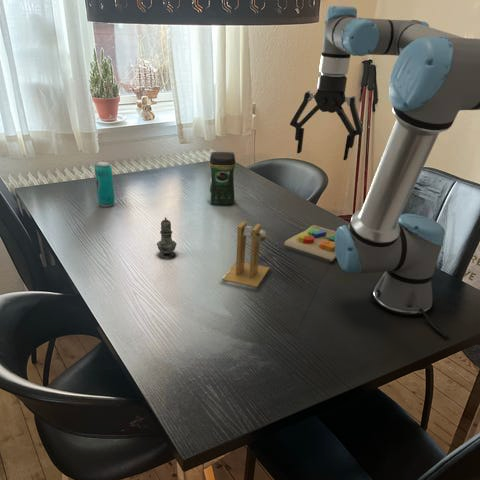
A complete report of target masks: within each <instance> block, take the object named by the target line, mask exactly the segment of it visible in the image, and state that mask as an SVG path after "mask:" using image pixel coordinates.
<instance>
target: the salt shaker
mask: <svg viewBox="0 0 480 480" xmlns="http://www.w3.org/2000/svg"><path fill="white" fill-rule="evenodd" d="M159 234H160V240H159V241H157V242H156V246H157V249H158V250H159V252H158V254H157V255H158V257H159V258H160V259H164V260H170V259H174V258H175V257H176V256H177V252H175V250H176V246H177V242H176V241H175V240H173V237H172V234H173V230H172V223H171V221H170V220H169V219H168V217H166V216H165V217H164V219H162V220H161V221H160V231H159Z"/></svg>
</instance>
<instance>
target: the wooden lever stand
mask: <svg viewBox="0 0 480 480" xmlns="http://www.w3.org/2000/svg"><path fill="white" fill-rule="evenodd" d="M247 225H248V221H247V220H246V221H245V220H243V221H242V222H241V223H240V224H239V225H238V226H237V238H236V239H237V240H236V261H235V263H234V264H233V265H232V267H231V268H230V269H229V270H228V272H226V274H225V275H224V276H223V277H222V279H221V280H222V281H224V282H228V283H232V284H233V283H234V284H239V285H243V286H248V287H252V288H255V289H257V288H258V287H259V286H260V284H261V282H262V281H263V279H264V278H265V276H266V274H268V273H269V271H270V269H271V268H270V267H269V266H264V265H260V264H259V259H260V258H259V257H260V245H261V244H260V243H261V242H260V234H261V229H262V224H261V223H256V225H255V226H254V227H252V228H253V230H252V237H251V245H250V258H249V259H250V260H249V262H245V261H246V260H245V259H246V246H247V245H246V243H247V242H246V241H247V236H244V235H243V233H244V228H245V226H247ZM247 227H248V226H247Z"/></svg>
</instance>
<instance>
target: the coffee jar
mask: <svg viewBox="0 0 480 480" xmlns="http://www.w3.org/2000/svg"><path fill="white" fill-rule="evenodd" d="M236 164H237V163H236V155H235V153H234V152H233V151H211V153H210V157H209V162H208V166H209V168H210V182H209V183H210V184H209V192H208V193H209V195H208V201H209V203H210V204H212V205H218V206H229V205H232V204H234V203H235V197H236V196H235V185H234V184H235V183H234V170H235V168H236Z"/></svg>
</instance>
